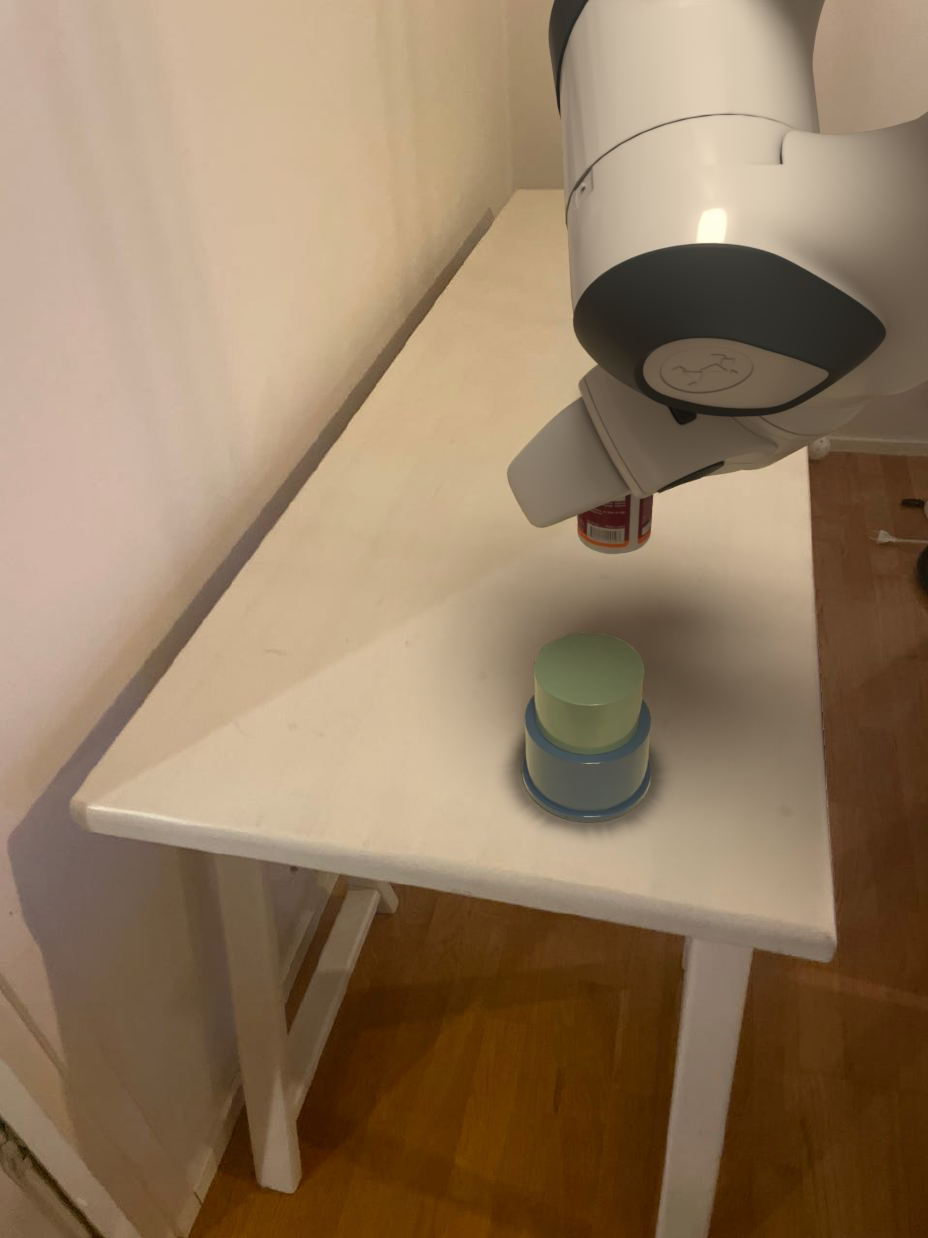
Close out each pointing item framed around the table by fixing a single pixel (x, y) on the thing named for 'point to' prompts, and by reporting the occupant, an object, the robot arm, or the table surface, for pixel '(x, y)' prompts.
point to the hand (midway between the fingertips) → (608, 473)
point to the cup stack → (587, 729)
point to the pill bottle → (617, 525)
